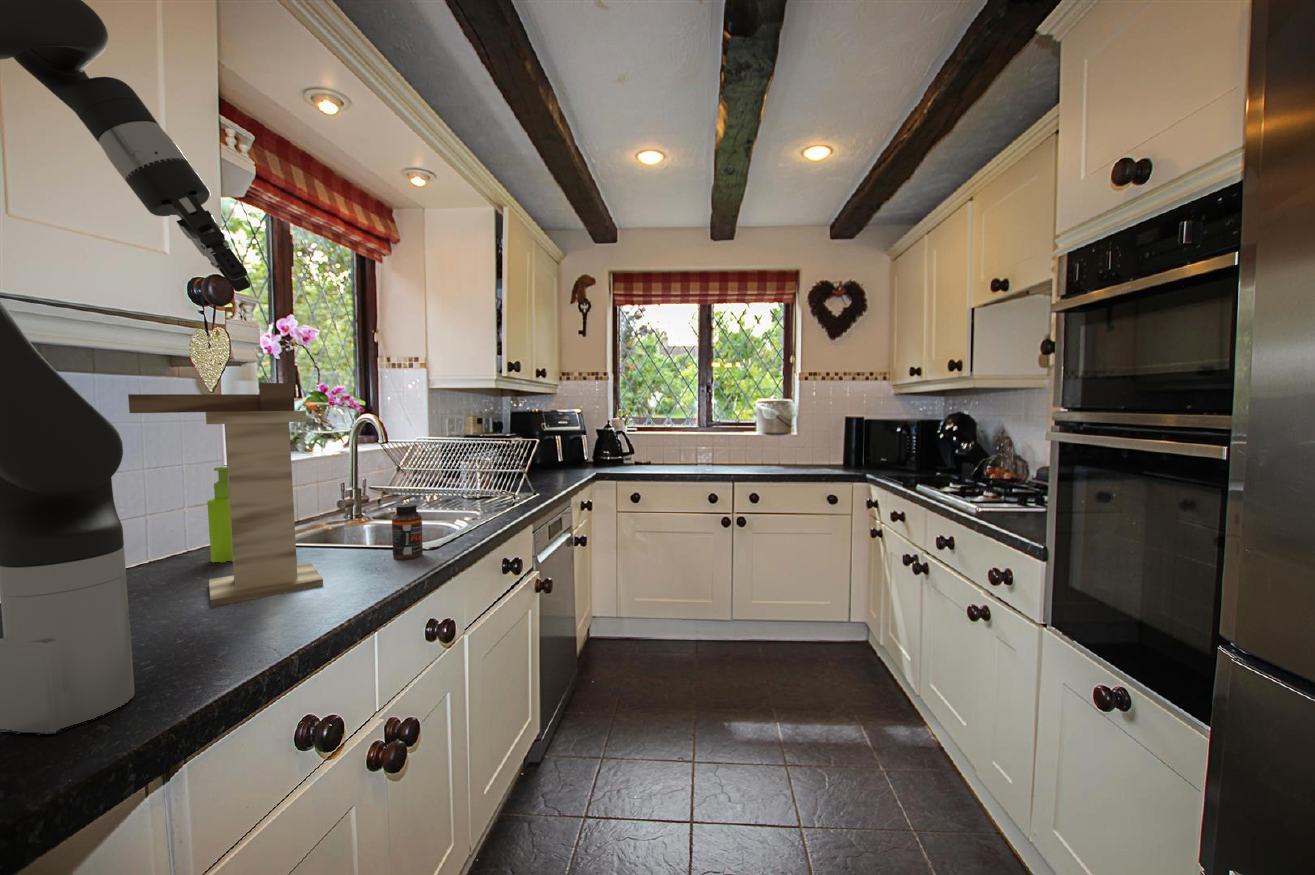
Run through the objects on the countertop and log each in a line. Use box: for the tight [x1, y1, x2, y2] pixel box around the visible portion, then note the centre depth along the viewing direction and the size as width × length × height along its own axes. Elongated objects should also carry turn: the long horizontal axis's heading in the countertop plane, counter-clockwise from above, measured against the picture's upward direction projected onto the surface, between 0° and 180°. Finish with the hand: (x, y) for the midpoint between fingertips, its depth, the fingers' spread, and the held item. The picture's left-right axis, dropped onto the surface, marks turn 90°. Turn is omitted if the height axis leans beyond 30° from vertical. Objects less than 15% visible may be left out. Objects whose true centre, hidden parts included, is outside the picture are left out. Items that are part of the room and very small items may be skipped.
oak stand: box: [205, 409, 324, 608], centre depth 100 cm, size 14×16×32 cm
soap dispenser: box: [207, 466, 233, 563], centre depth 118 cm, size 6×7×20 cm
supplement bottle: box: [391, 503, 424, 560], centre depth 119 cm, size 6×6×11 cm
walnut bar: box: [127, 382, 296, 414], centre depth 95 cm, size 5×22×5 cm, turn 126°
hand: (242, 283), depth 78 cm, fingers open, 8 cm apart
